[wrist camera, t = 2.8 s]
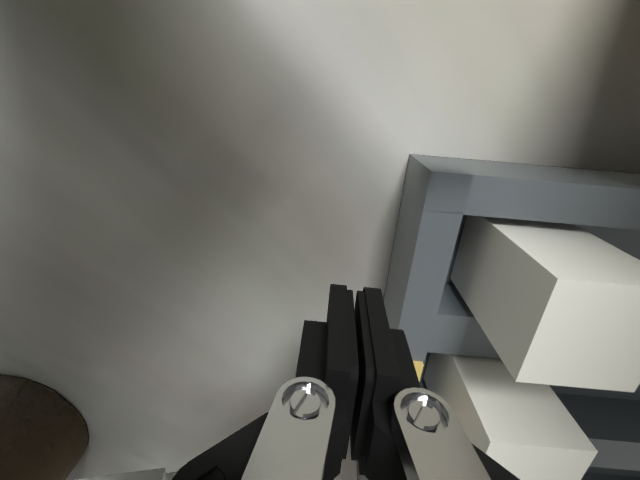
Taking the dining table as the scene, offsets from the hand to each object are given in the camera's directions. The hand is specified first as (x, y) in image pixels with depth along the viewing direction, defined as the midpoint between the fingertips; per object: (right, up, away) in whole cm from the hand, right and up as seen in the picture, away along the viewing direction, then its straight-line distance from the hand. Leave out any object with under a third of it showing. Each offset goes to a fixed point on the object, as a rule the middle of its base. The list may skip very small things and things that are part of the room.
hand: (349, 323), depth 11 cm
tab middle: (+7, -4, +8) cm, 12 cm away
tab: (+8, +3, +6) cm, 10 cm away
